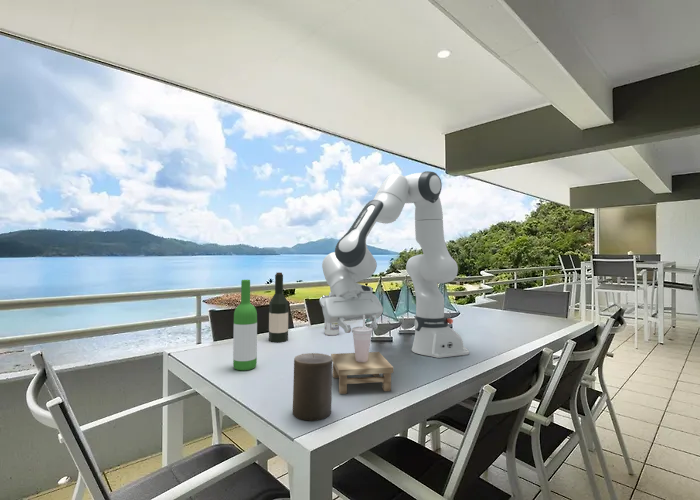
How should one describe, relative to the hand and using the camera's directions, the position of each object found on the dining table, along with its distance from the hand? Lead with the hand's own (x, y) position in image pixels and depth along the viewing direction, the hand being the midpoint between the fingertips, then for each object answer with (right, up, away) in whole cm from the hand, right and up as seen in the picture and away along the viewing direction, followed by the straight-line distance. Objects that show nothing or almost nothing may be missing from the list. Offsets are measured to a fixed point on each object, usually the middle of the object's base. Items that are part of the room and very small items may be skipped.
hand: (362, 330), depth 113 cm
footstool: (-1, -16, +1) cm, 16 cm away
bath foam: (-12, -16, +65) cm, 68 cm away
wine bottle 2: (-35, -16, +51) cm, 64 cm away
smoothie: (0, -10, +1) cm, 10 cm away
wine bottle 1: (-40, -16, +14) cm, 45 cm away
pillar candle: (-13, -17, -20) cm, 29 cm away
